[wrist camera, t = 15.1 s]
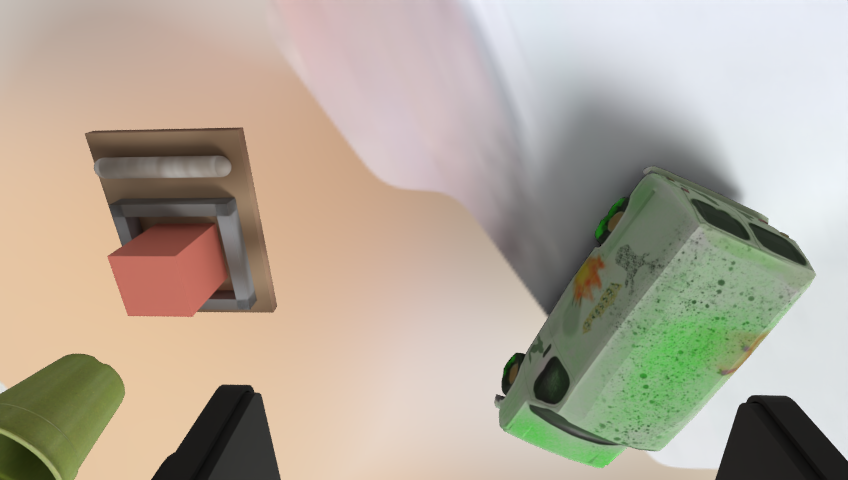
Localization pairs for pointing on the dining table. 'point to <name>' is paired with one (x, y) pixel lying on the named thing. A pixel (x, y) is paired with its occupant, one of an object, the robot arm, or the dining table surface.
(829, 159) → the dining table surface
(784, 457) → the robot arm
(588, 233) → the dining table surface
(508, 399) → the toy car
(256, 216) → the board
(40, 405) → the plant pot
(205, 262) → the red block
